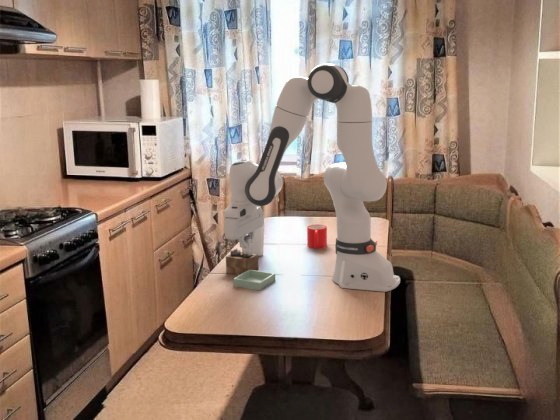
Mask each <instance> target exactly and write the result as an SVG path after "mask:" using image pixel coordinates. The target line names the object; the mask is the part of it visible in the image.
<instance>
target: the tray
mask: <svg viewBox="0 0 560 420" xmlns="http://www.w3.org/2000/svg"><path fill="white" fill-rule="evenodd" d="M232 280H233V282H232V283H233V286H234V287H238V288H239V287H240V288H244V289H249V290H256V291H262V290H263V289H265V288H266V287H268V286H269V285H271V284H273V283H274V282H275V281H276V273H274V272H268V271H261V270H258V271H256V270H250V269H249V270H248V271H246V272H244V273H242V274H241V275H237V276H235V277H234V278H233V279H232Z"/></svg>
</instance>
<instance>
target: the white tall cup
mask: <svg viewBox="0 0 560 420" xmlns="http://www.w3.org/2000/svg"><path fill="white" fill-rule="evenodd" d="M264 241H265V224H264V225H263V226H262V227H260V228H258V229H256V230H255V233H254V237H253V243H251V252H252V254H258V257H260V256H264V245H265V244H264Z"/></svg>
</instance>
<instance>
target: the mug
mask: <svg viewBox="0 0 560 420" xmlns="http://www.w3.org/2000/svg"><path fill="white" fill-rule="evenodd" d="M306 228H307V230H306V232H307V233H306V235H307V247H308V248H311V249H324V248H327V245H328V233H327V232H328V231H327V230H328V227H327V225H324V224H310V225H308V226H307V227H306Z"/></svg>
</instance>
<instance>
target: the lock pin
mask: <svg viewBox="0 0 560 420" xmlns="http://www.w3.org/2000/svg"><path fill="white" fill-rule="evenodd" d="M243 239H244V242H246V247H244V248H241V252H242V254H243V258H247V259H248V258H250V257H251V256H252V252H251V236H250V235H248V234H246V235H244V238H243Z"/></svg>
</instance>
